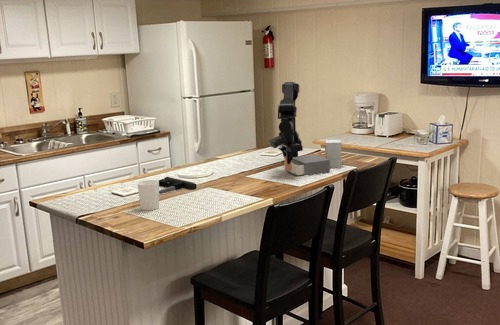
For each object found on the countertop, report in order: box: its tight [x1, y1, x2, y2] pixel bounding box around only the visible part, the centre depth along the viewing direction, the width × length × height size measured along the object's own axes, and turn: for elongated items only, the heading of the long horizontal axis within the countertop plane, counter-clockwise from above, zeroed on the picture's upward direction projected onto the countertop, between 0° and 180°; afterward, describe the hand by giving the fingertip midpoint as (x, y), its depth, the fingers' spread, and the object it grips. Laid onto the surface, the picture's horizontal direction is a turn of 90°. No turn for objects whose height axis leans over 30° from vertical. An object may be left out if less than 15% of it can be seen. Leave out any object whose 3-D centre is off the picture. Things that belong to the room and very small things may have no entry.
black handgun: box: [157, 176, 197, 195], centre depth 224 cm, size 3×20×16 cm
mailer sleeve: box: [292, 154, 331, 176], centre depth 245 cm, size 14×13×6 cm
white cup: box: [137, 179, 160, 211], centre depth 196 cm, size 8×8×10 cm
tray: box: [283, 156, 305, 176], centre depth 243 cm, size 12×15×8 cm
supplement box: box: [325, 139, 342, 169], centre depth 253 cm, size 7×7×13 cm
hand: (287, 163), depth 241 cm, fingers closed on tray, 2 cm apart
